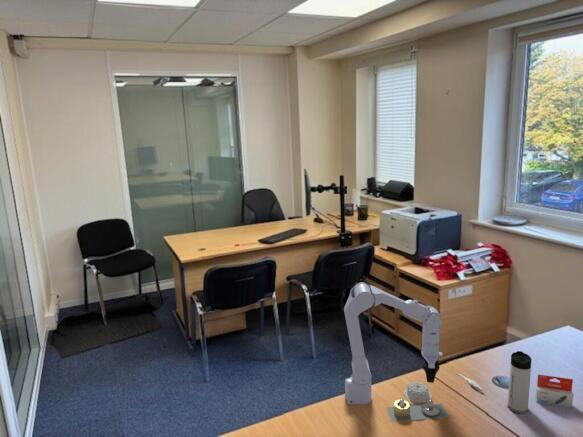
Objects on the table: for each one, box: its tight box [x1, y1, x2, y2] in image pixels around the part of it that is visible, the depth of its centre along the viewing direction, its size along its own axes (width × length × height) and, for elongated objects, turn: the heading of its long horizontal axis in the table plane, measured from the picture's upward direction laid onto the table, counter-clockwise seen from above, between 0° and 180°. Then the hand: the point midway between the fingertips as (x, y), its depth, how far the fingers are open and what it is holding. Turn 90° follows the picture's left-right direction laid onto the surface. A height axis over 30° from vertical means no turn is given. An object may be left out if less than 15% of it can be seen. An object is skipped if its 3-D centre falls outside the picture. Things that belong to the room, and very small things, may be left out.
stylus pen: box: [454, 372, 483, 393], centre depth 172 cm, size 15×3×2 cm, turn 19°
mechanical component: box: [403, 381, 433, 404], centre depth 164 cm, size 10×4×10 cm
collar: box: [393, 399, 411, 418], centre depth 153 cm, size 5×5×4 cm
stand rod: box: [399, 398, 404, 407], centre depth 153 cm, size 2×2×5 cm
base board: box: [385, 403, 451, 422], centre depth 154 cm, size 20×8×1 cm, turn 93°
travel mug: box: [507, 350, 532, 414], centre depth 154 cm, size 6×7×20 cm
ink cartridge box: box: [534, 373, 574, 408], centre depth 156 cm, size 2×11×10 cm, turn 70°
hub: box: [421, 399, 439, 417], centre depth 154 cm, size 6×6×4 cm
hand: (429, 375), depth 160 cm, fingers open, 7 cm apart
